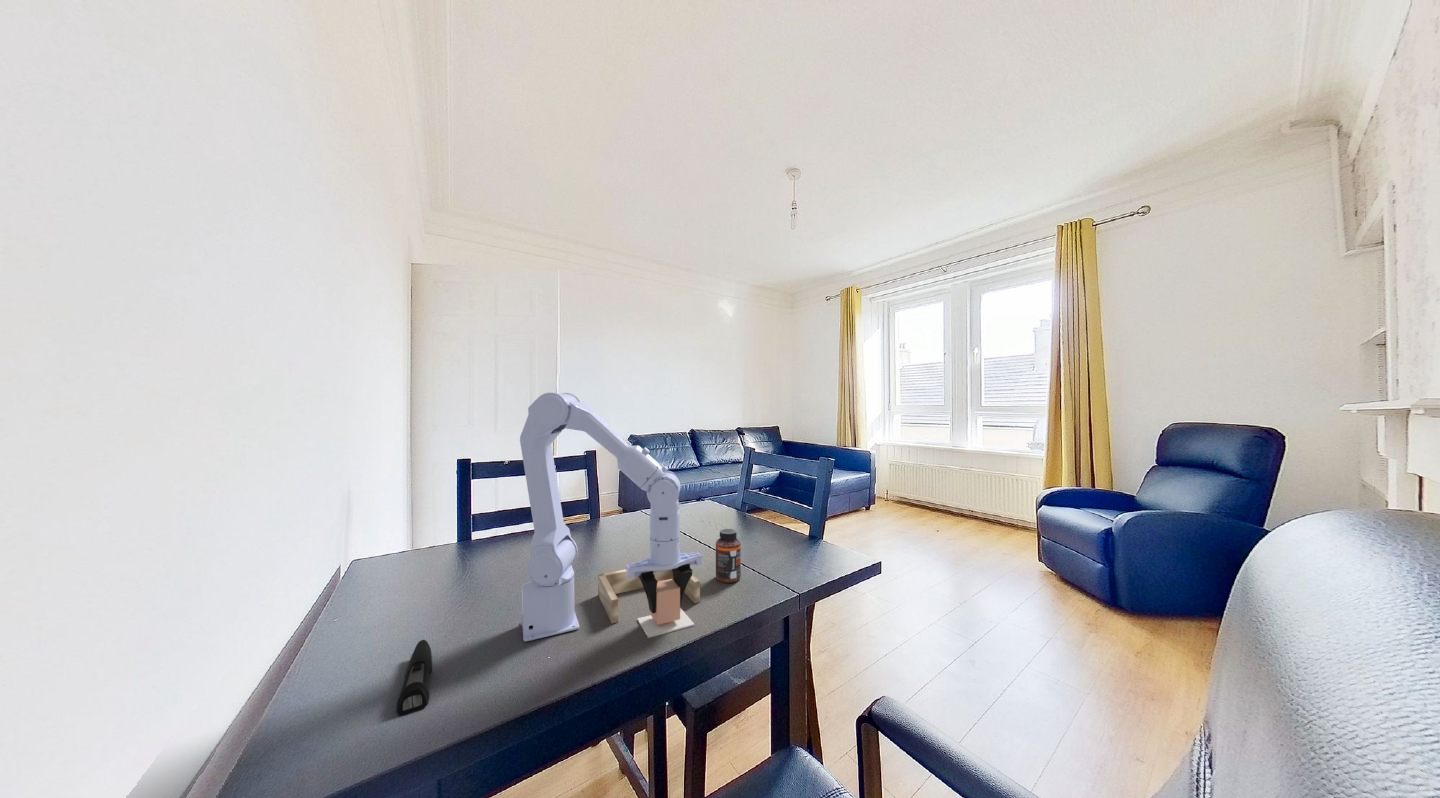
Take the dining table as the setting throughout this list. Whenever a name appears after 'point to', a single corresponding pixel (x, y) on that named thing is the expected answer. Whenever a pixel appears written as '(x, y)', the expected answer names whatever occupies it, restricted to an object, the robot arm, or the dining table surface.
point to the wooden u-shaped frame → (634, 588)
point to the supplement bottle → (728, 556)
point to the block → (667, 602)
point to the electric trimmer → (416, 681)
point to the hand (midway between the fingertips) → (665, 607)
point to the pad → (664, 625)
